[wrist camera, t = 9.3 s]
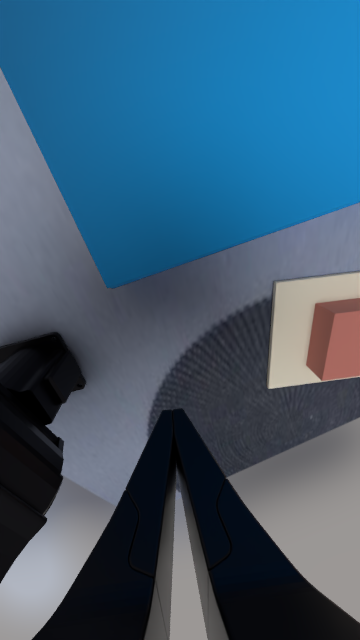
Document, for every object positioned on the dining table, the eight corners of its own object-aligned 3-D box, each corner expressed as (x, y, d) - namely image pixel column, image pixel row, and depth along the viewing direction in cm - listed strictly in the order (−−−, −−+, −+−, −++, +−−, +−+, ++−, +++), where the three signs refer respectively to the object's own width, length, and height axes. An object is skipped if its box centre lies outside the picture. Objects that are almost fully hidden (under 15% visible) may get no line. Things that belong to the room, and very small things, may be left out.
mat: (266, 385, 25) (268, 388, 25) (273, 281, 21) (276, 282, 20) (403, 367, 26) (408, 370, 25) (443, 261, 21) (449, 261, 21)
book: (-68, -61, 10) (562, -395, 8) (0, 21, 14) (428, -187, 12) (111, 298, 16) (470, 170, 14) (121, 283, 20) (405, 181, 18)
